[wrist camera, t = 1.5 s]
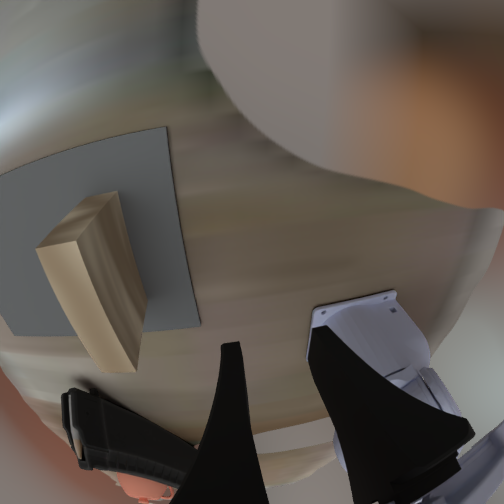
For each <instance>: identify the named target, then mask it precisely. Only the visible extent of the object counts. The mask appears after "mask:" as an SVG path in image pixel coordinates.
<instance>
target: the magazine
mask: <svg viewBox="0 0 504 504" xmlns="http://www.w3.org/2000/svg"><path fill="white" fill-rule="evenodd" d="M61 405H62V423H63V428H64V429H65V430H66V432H67V435H68V439H69V442H70V445H72V446H71V448H72V450H73V451H74V452H75V454H76V455H77V458H78V463H79V467H80V468H81V469H84V470H93V468H96V469H99V470H106V471H107V470H108V471H114V472H119V473H124V474H129V475H133V476H137V477H141V478H145V479H149V480H152V481H155V482H158V483H161V484H164V485H167V486H170V487H174V488H177V489H179V487H180V485H181V483H182V481H183V479H184V477H185V475H186V473H187V472H188V470H189V468H190V466H191V463H192V461H193V459H194V457H195V455H196V452H197V449H195V448H194V447H192V446H191V445H189V444H188V443H186V442H185V441H183V440H181V439H180V438H178V437H177V436H175V435H173V434H172V433H170V432H168V431H166V430H165V429H163V428H161V427H159V426H158V425H156V424H154V423H152V422H150V421H149V420H147V419H145V418H143V417H141V416H139V415H137V414H135V413H132V412H130V411H128V410H125V409H123V408H121V407H119V406H116V405H114V404H112V403H110V402H108V401H106V400H104V399H102V398H100V397H99V396H98V392H97V390H96V389H91V390H90V393H87V392H85V391H82V390H79V389H77V388H71V389H69V391H68V392H67V393H63V394H62V395H61Z"/></svg>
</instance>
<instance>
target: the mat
mask: <svg viewBox="0 0 504 504" xmlns="http://www.w3.org/2000/svg"><path fill="white" fill-rule="evenodd" d="M114 191H118V196H119V200H120V205H121V209H122V213H123V218H124V222H125V226H126V230H127V233H128V237H129V241H130V245H131V248H132V252H133V255H134V259H135V262H136V265H137V269H138V272H139V275H140V278H141V281H142V284H143V287H144V290H145V293H146V296H147V299H148V302H147V308H146V313H145V319H144V325H143V331H142V332H152V331H163V330H173V329H183V328H191V327H200V326H201V323H200V319H199V314H198V310H197V306H196V301H195V297H194V293H193V288H192V283H191V279H190V274H189V269H188V264H187V259H186V254H185V249H184V243H183V238H182V232H181V227H180V221H179V215H178V209H177V203H176V196H175V190H174V183H173V176H172V169H171V161H170V153H169V145H168V137H167V127H161V128H155V129H150V130H144V131H139V132H135V133H130V134H125V135H121V136H117V137H112V138H108V139H104V140H100V141H97V142H93V143H89V144H86V145H82V146H79V147H76V148H72V149H69V150H66V151H63V152H60V153H57V154H54V155H51V156H48V157H45V158H42V159H40V160H37V161H34V162H32V163H29V164H27V165H24V166H22V167H19V168H17V169H15V170H12V171H10V172H8V173H5V174H3V175H1V176H0V314H1V315H2V317H3V318H4V320H5V322H6V323H7V325H8V326H9V328H10V330H11V331H12V333H13V334H14V336H78V335H77V333H76V332H75V330H74V328H73V327H72V325H71V323H70V321H69V319H68V318H67V316H66V314H65V312H64V310H63V308H62V307H61V305H60V303H59V301H58V299H57V297H56V295H55V293H54V291H53V289H52V286H51V284H50V282H49V280H48V278H47V276H46V273H45V271H44V269H43V266H42V264H41V262H40V259H39V257H38V254H37V252H36V249H35V248H36V247H37V246H38V245H39V244H40V243H41V242H42V241H43V239H44V238H45V237H46V236H47V235H48V234H49V233H50V232H51V231H52V230H53V229H54V228H55V227H56V226H57V225H58V224H59V223H60V222H61V220H62V219H63V218H64V217H65V216H66V215H67V214H69V213H70V212H71V211H72V210H73V209H74V208H75V207H76V206H77V205H78V204H79V203H80V202H81V201H82V200H83V199H84V198H86V197H91V196H95V195H100V194H104V193H109V192H114Z"/></svg>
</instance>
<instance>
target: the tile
mask: <svg viewBox="0 0 504 504" xmlns="http://www.w3.org/2000/svg"><path fill="white" fill-rule="evenodd" d="M35 249H36V252H37V254H38V257H39V259H40V262H41V264H42V266H43V269H44V271H45V273H46V276H47V278H48V280H49V282H50V284H51V286H52V289H53V291H54V293H55V295H56V297H57V299H58V301H59V303H60V305H61V307H62V308H63V310H64V312H65V314H66V316H67V318H68V319H69V321H70V323H71V325H72V327H73V328H74V330H75V332H76V333H77V335H78V337H79V338H80V340H81V342H82V343H83V345H84V346H85V348H86V350H87V351H88V353H89V354H90V356H91V357H92V359H93V360H94V362H95V363H96V365H97V366H98V368H99V369H100V370H101V372H102V373H114V372H137V365H138V358H139V350H140V343H141V337H142V331H143V325H144V319H145V313H146V308H147V302H148V299H147V296H146V293H145V290H144V287H143V284H142V281H141V278H140V275H139V272H138V269H137V265H136V262H135V259H134V255H133V252H132V248H131V245H130V241H129V237H128V233H127V230H126V226H125V222H124V218H123V213H122V209H121V205H120V200H119V196H118V191H114V192H109V193H104V194H100V195H95V196H91V197H86V198H84V199H83V200H82V201H81V202H80V203H79V204H78V205H77V206H76V207H75V208H74V209H73V210H72V211H71V212H70V213H69V214H67V215H66V216H65V217H64V218H63V219H62V220H61V222H60V223H59V224H58V225H57V226H56V227H55V228H54V229H53V230H52V231H51V232H50V233H49V234H48V235H47V236H46V237H45V238H44V239H43V241H42V242H41V243H40V244H39V245H38V246H37V247H36V248H35Z"/></svg>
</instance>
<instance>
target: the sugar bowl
mask: <svg viewBox="0 0 504 504" xmlns="http://www.w3.org/2000/svg"><path fill="white" fill-rule="evenodd" d="M117 476H118V480H119V482H120V484H121V486H122V488H123V489H124V491H125V492H126V494H127V495H129V496H130V497H134V498H139V501H138V502H139V503H145V504H148V503H149V501H148V500H158V499H160V498H162V499H171V498H172V497H173V496H174V490H173V488H172V487H170V486H169V488H170V491H171V495H170V496H169V497H164V496H162V495H163V494H164V492H165V490H166V488H167V485H164V484H161V483H158V482H155V481H152V480H149V479H145V478H141V477H137V476H133V475H129V474H124V473H119V472H117Z"/></svg>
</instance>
